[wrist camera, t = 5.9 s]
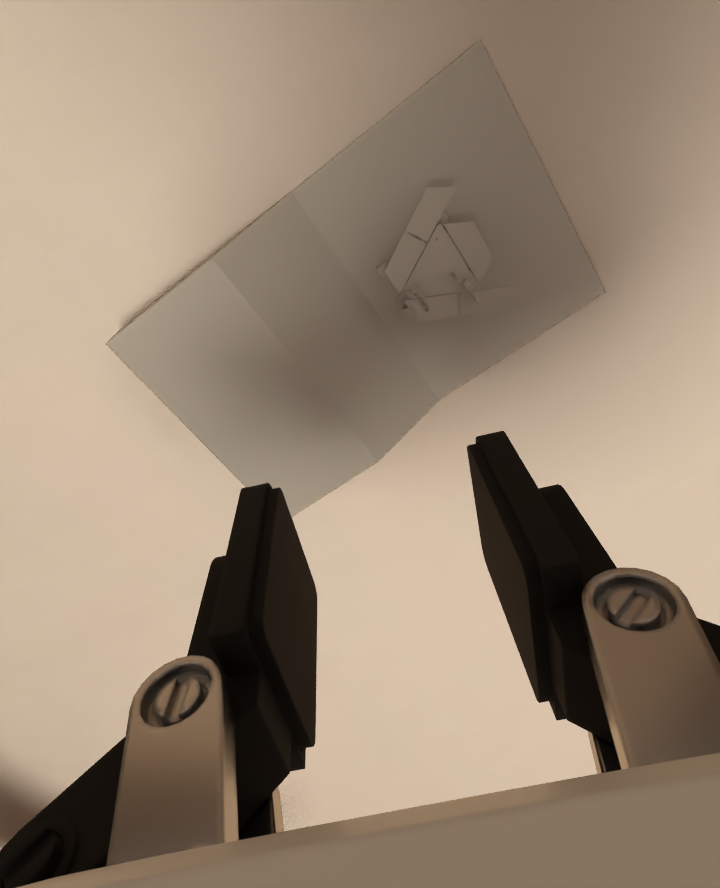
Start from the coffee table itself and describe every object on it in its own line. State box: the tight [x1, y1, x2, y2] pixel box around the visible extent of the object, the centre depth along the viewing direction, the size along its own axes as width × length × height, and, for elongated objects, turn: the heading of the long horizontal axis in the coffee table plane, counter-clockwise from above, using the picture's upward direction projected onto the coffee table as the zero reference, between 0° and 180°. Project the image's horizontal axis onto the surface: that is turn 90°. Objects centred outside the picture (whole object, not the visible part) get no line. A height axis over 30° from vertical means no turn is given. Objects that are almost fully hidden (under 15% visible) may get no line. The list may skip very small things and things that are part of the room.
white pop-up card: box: [106, 40, 606, 517], centre depth 16 cm, size 7×12×2 cm, turn 125°
